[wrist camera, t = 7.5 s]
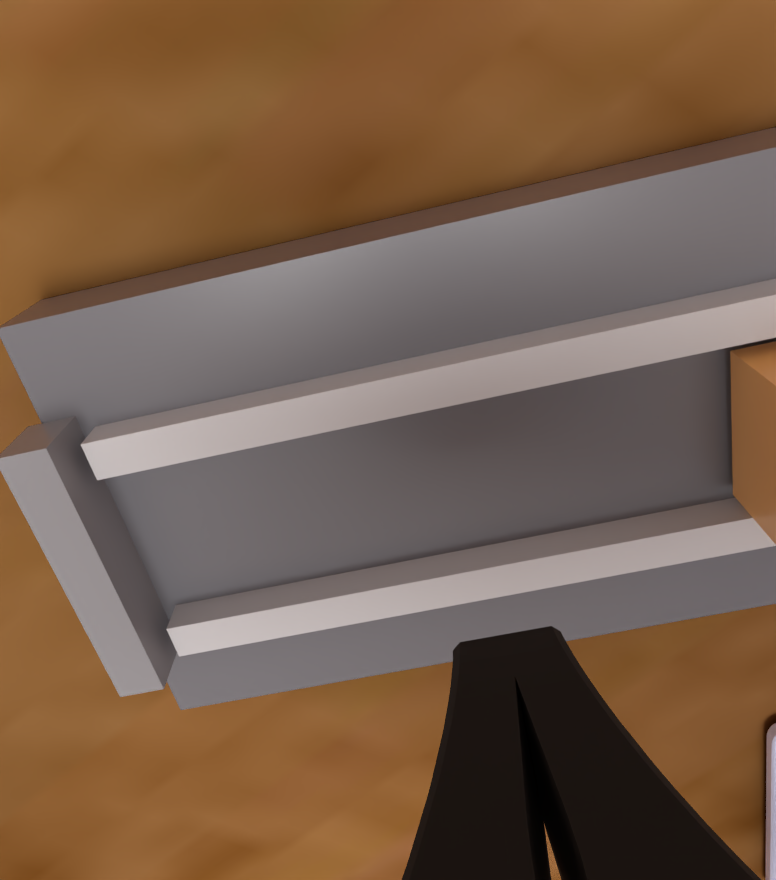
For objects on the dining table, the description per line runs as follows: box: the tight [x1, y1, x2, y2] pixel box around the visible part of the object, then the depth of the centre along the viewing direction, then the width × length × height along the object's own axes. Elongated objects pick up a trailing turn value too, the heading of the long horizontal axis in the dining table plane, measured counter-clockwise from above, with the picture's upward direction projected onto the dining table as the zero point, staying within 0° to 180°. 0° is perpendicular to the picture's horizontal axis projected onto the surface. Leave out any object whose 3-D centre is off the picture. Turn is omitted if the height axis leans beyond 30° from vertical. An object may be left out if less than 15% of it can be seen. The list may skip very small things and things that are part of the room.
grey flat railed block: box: [0, 127, 776, 710], centre depth 15 cm, size 23×10×3 cm, turn 103°
